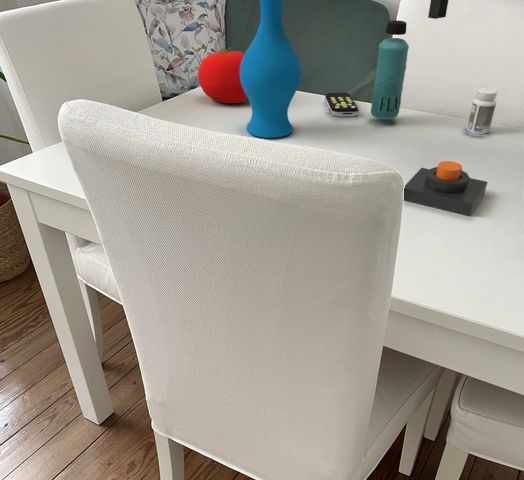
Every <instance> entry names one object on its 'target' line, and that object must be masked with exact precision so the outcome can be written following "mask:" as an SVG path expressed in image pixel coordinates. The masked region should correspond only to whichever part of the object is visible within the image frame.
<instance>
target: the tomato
mask: <svg viewBox="0 0 524 480" xmlns="http://www.w3.org/2000/svg"><path fill="white" fill-rule="evenodd" d="M218 50H221V51H216V52H213V53H210V54H208V55H207V56H206V57H204V58H203V59H202V61H201V62H200V64H199V67H198V71H197V79H198V83H199V86H200V88H201V90H202V91H203V93H204V94H205V95H206V96H207V97H208V98H210V99H212V101H216V102H218V103H223V104H238V103H239V104H240V103H244V102H245V101H246V100H248V97H247V95H246V93H245V91H244V89H243V87H242V84H241V80H240V65H241V61H242V59H243V57H244V55H245V52H243V50H242V51H240V50H232V47H231V46H230V47H227V48H226V49H224V48H218Z"/></svg>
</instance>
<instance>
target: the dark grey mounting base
mask: <svg viewBox="0 0 524 480" xmlns="http://www.w3.org/2000/svg"><path fill="white" fill-rule="evenodd" d="M437 167H438V166H435V167H431V168H426V167H420V168H419V170H417V172H416V173H415V174H414V175H413V176H412V177H411V178H410V180H408V182H407V183H405V185H404V186H405V188H404V200H403V201H405V202H410V203H414V204H418V205H423V206H426V207H430V208H435V209H439V210H442V211H447V212H450V213H451V212H452V213H456V214H460V215H463V216H468V217H471V215H472V214H473V212H474V211H475V209H476V207H477V205H478V204H479V203H480V201H481V199H482V198H483V197H484V195H485V194H486V190H487V186H488V181H486V180H480V179H478V178H477V179H476V178H473V177H470V176H469V174H468V172H466V171H464V170H462V171H461V175H460V179H459V180H455V181H453V180H444V179H440V178H438V177H436V172H437Z"/></svg>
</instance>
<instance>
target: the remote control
mask: <svg viewBox="0 0 524 480" xmlns="http://www.w3.org/2000/svg"><path fill="white" fill-rule="evenodd" d="M324 101H325V103H326V105H327V108H328V110H329V112H330V114H331V115H332V116H333V117H335V118H344V117H345V118H346V117H347V118H349V117H350V118H351V117H355V116H356V117H357V115H358V114H359V107H358V106H357V104H356V102H355V100H354V99H353V98H352V96H351V94H350V93H348V92H328V93H325V96H324Z"/></svg>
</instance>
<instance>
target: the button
mask: <svg viewBox="0 0 524 480" xmlns="http://www.w3.org/2000/svg"><path fill="white" fill-rule="evenodd" d="M436 167H437V172H436V177H438V178H440V179H444V180H453V181H455V180H459V179H460V175H461V171H463V165H462V164H461V163H459V162H456V161H453V160H443V161H440V162H438V164H437V166H436Z"/></svg>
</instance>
